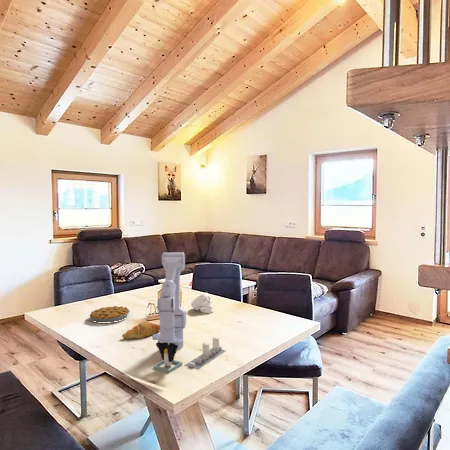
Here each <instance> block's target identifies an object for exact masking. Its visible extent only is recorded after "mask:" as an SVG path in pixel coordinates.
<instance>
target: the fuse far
mask: <svg viewBox="0 0 450 450" xmlns="http://www.w3.org/2000/svg"><path fill="white" fill-rule="evenodd" d="M211 339H212V348H213V350H216V353H218V352H219V346H220V337H219V336H213V337H212V338H211Z"/></svg>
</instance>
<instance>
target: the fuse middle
mask: <svg viewBox="0 0 450 450" xmlns="http://www.w3.org/2000/svg"><path fill="white" fill-rule="evenodd" d="M210 347H211V346H210V343H209V342H207V341H205V342H203V343H202V354H203V356H205V357H206V359H209V358H210V349H211V348H210Z"/></svg>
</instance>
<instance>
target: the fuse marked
mask: <svg viewBox="0 0 450 450" xmlns="http://www.w3.org/2000/svg"><path fill="white" fill-rule="evenodd" d="M163 364H164V367H170V366H171V367H172V365H173V363H172V362H169V359H168V351H167V349H164V363H163Z"/></svg>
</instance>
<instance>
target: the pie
mask: <svg viewBox="0 0 450 450" xmlns="http://www.w3.org/2000/svg"><path fill="white" fill-rule="evenodd" d="M129 313H130V309H129V308H127V306H125V307H123V306H116V305H114V306H107V307H100V308H98V309H94V310H93V311H91V312H90V314H89V317H90V318H91V320H92V322H93V321H96V322H114V321H119V320H122V319H124V318H127V317H128V314H129ZM124 320H125V319H124ZM122 321H123V320H122ZM96 322H95V323H96ZM119 322H120V321H119Z"/></svg>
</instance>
